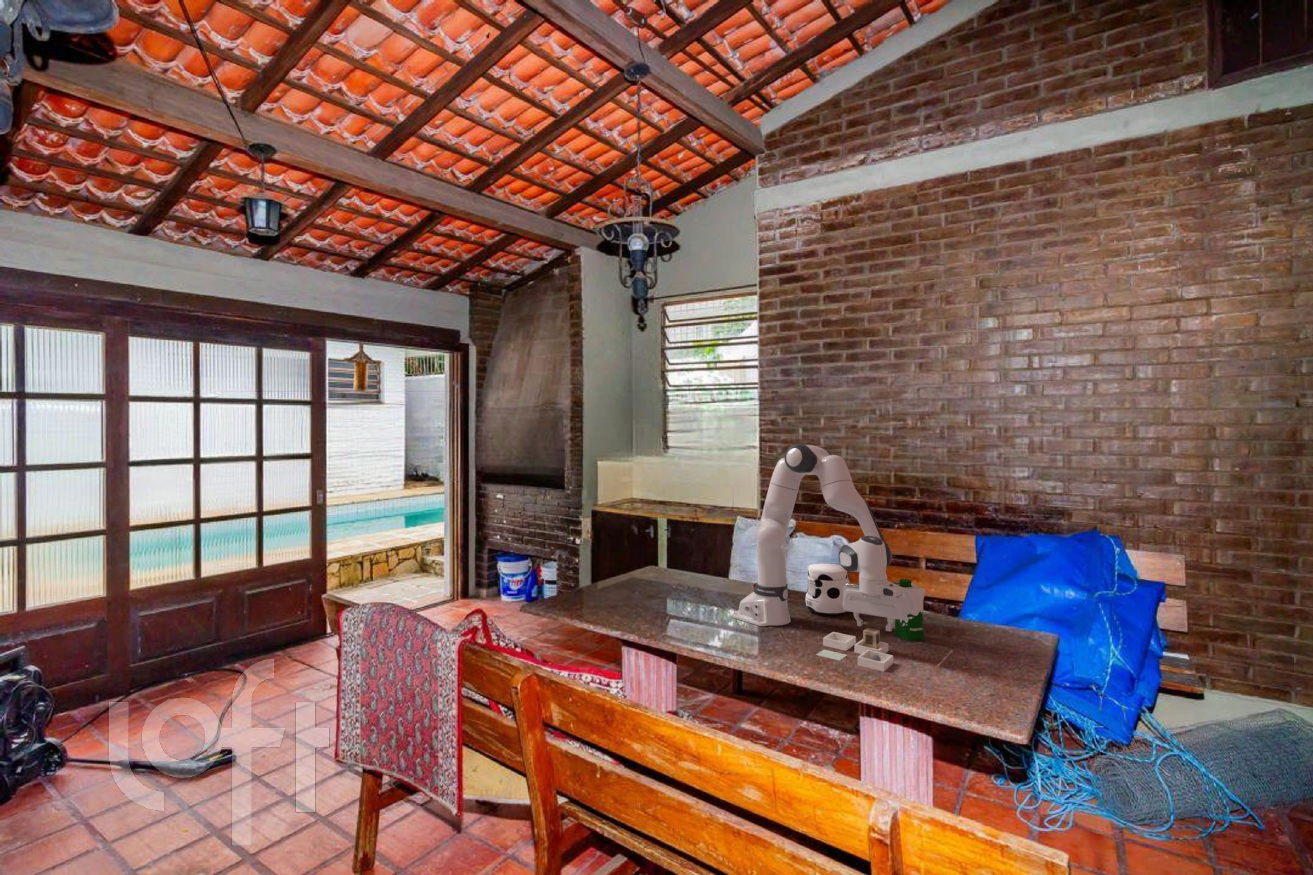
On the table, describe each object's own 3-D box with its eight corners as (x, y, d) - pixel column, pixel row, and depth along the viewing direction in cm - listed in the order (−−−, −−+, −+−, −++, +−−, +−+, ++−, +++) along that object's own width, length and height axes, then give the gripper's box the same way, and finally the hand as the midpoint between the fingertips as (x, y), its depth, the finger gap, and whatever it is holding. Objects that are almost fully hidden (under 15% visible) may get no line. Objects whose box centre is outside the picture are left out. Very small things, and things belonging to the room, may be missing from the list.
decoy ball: (868, 664, 194) (868, 654, 194) (872, 661, 196) (872, 652, 196) (878, 666, 192) (878, 657, 192) (882, 663, 194) (882, 654, 194)
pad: (816, 656, 202) (816, 654, 202) (823, 651, 207) (823, 649, 207) (839, 662, 197) (839, 660, 197) (847, 656, 202) (847, 654, 202)
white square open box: (857, 666, 194) (857, 656, 193) (867, 658, 200) (867, 649, 200) (884, 672, 188) (884, 663, 188) (893, 664, 195) (893, 655, 195)
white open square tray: (823, 646, 211) (823, 637, 211) (833, 640, 218) (833, 631, 218) (846, 651, 206) (846, 642, 206) (855, 645, 213) (855, 636, 212)
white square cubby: (854, 653, 204) (854, 644, 204) (863, 647, 211) (863, 638, 211) (879, 659, 199) (879, 650, 199) (888, 652, 206) (888, 643, 205)
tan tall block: (863, 652, 205) (863, 630, 205) (867, 648, 208) (867, 627, 208) (875, 654, 202) (875, 633, 202) (880, 651, 205) (879, 630, 205)
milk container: (855, 609, 254) (855, 565, 254) (842, 620, 240) (842, 574, 239) (814, 603, 264) (813, 561, 263) (799, 613, 249) (799, 569, 249)
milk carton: (911, 632, 225) (911, 577, 225) (928, 640, 216) (928, 583, 216) (890, 635, 223) (890, 579, 222) (907, 643, 214) (907, 585, 214)
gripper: (839, 584, 209) (840, 625, 209) (901, 592, 196) (902, 636, 196) (846, 580, 214) (847, 620, 214) (907, 588, 201) (908, 630, 201)
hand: (874, 628), depth 205 cm, fingers open, 8 cm apart
